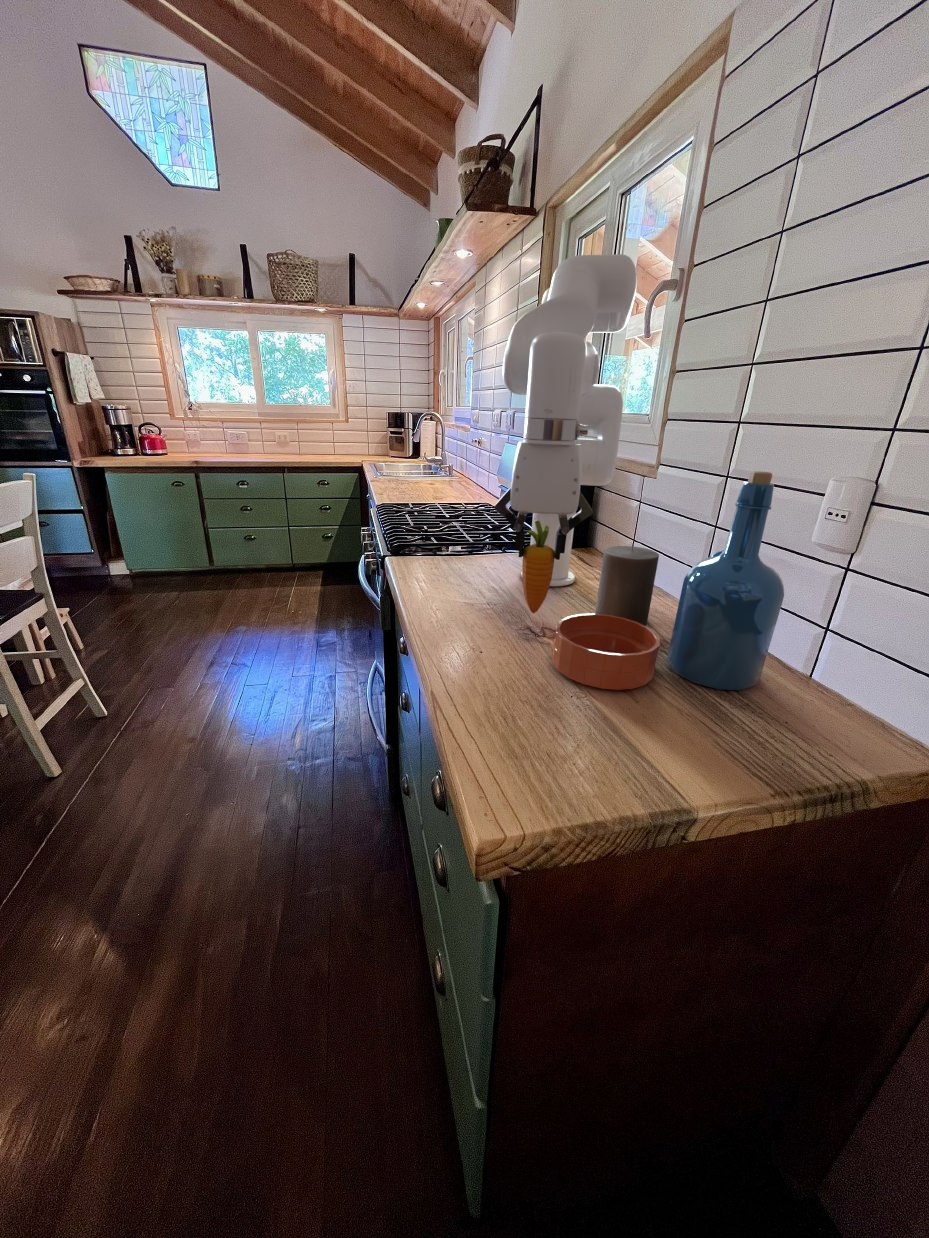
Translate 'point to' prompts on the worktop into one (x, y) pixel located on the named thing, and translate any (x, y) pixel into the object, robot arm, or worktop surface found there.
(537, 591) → the carrot
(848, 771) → the worktop surface
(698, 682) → the wine bottle
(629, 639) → the bowl
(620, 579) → the pillar candle
